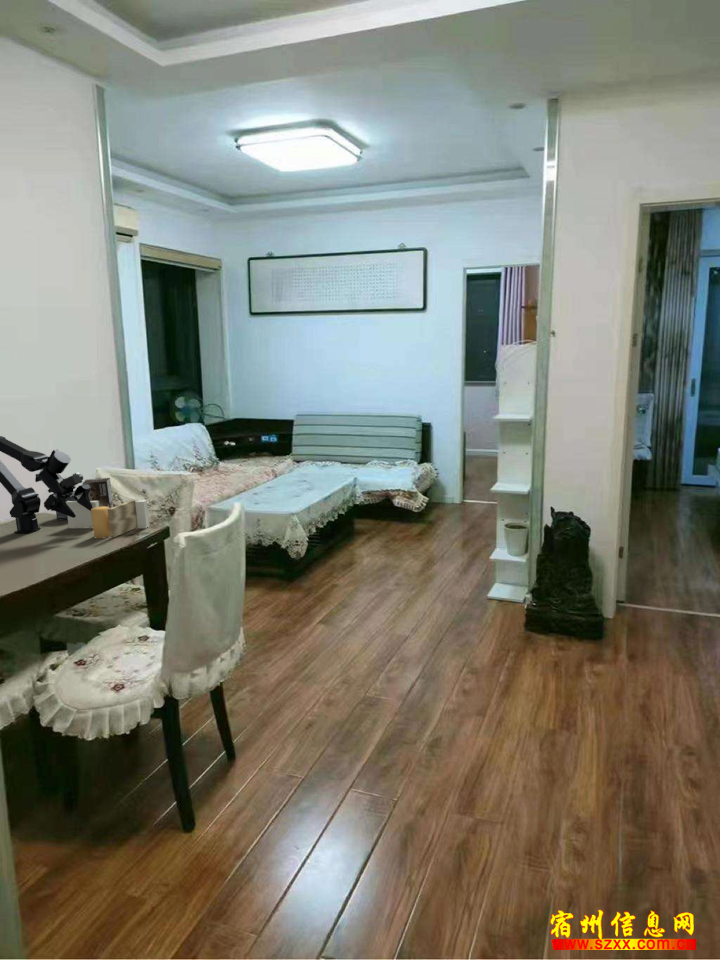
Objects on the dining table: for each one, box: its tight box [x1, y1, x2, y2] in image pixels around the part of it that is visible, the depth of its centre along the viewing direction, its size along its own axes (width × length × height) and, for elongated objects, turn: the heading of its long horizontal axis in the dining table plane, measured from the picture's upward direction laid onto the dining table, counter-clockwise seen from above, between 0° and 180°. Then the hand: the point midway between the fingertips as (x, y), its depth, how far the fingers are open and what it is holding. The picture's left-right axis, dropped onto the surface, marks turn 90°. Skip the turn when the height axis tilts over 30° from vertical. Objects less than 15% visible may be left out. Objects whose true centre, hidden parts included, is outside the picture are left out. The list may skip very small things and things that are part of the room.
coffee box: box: [81, 477, 114, 509], centre depth 255 cm, size 9×6×16 cm
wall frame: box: [66, 499, 150, 529], centre depth 246 cm, size 30×2×10 cm, turn 83°
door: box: [107, 499, 138, 538], centre depth 238 cm, size 14×2×10 cm, turn 163°
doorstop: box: [91, 507, 111, 539], centre depth 235 cm, size 6×6×10 cm
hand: (83, 513), depth 236 cm, fingers open, 9 cm apart
